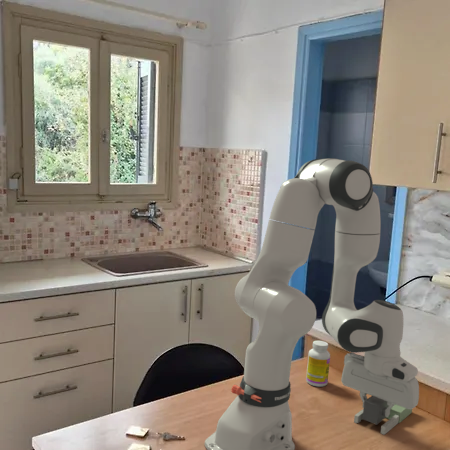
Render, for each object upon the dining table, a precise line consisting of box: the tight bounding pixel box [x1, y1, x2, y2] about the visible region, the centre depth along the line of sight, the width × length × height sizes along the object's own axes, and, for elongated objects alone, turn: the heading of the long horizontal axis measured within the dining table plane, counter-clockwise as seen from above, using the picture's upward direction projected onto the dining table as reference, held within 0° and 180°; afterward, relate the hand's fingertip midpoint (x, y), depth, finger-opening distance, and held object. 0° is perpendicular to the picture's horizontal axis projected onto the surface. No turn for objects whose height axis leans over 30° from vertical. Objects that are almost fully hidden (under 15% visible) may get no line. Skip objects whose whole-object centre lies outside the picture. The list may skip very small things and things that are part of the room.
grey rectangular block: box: [362, 395, 389, 425], centre depth 137 cm, size 7×4×5 cm, turn 139°
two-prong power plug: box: [353, 404, 413, 436], centre depth 141 cm, size 18×9×6 cm, turn 139°
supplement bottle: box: [305, 340, 331, 387], centre depth 160 cm, size 7×7×13 cm
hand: (375, 411), depth 137 cm, fingers closed on grey rectangular block, 4 cm apart
